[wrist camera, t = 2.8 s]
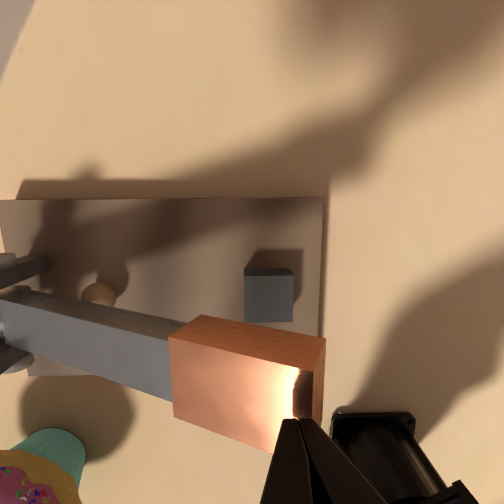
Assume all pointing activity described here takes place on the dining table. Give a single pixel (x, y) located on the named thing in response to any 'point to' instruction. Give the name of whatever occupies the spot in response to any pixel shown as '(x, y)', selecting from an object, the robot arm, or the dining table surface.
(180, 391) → the lever
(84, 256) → the base
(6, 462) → the cupcake
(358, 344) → the dining table surface
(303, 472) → the robot arm
